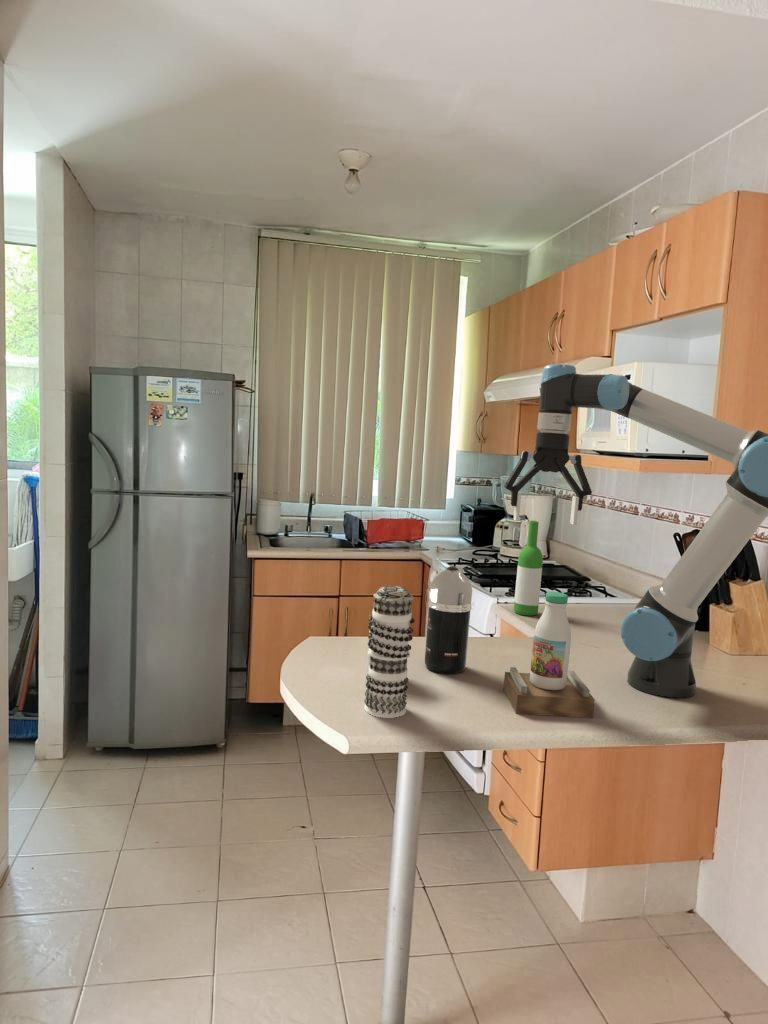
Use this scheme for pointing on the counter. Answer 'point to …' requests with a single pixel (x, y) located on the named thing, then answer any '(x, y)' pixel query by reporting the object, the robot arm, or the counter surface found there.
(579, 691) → the display riser
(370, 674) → the decorative candle
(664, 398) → the robot arm
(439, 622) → the black water bottle
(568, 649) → the milk bottle
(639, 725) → the counter surface
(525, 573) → the wine bottle
